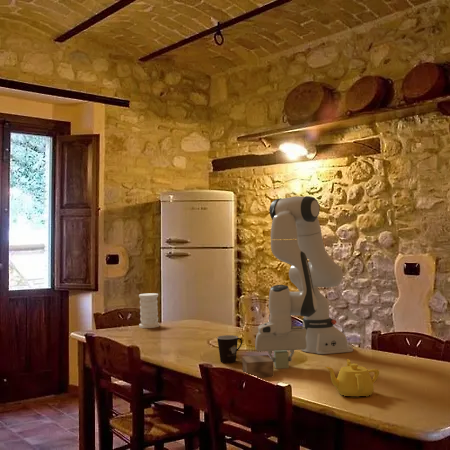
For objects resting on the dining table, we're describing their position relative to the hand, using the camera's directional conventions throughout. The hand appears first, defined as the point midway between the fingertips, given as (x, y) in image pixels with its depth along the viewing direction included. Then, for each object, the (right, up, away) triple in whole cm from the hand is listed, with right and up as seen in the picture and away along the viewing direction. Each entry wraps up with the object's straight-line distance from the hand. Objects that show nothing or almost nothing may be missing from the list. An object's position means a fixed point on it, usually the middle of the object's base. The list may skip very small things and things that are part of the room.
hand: (281, 361), depth 237 cm
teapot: (+20, -2, -38) cm, 43 cm away
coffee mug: (-20, -3, +12) cm, 23 cm away
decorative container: (-65, -3, +100) cm, 119 cm away
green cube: (0, -2, 0) cm, 2 cm away
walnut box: (-10, -3, -10) cm, 14 cm away
